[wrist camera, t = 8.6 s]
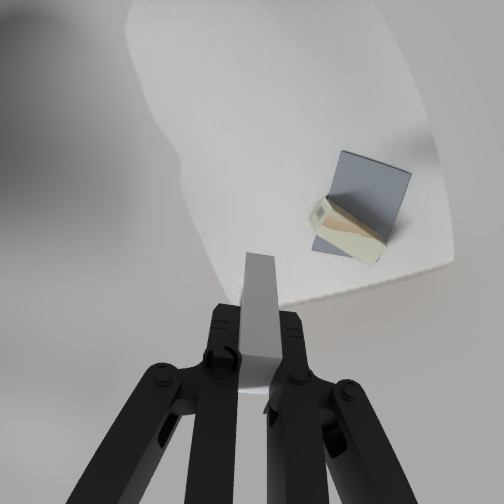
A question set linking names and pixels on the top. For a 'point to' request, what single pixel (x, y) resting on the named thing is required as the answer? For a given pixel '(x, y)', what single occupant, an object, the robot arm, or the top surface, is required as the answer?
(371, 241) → the box
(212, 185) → the top surface
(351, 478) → the robot arm
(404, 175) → the mat
